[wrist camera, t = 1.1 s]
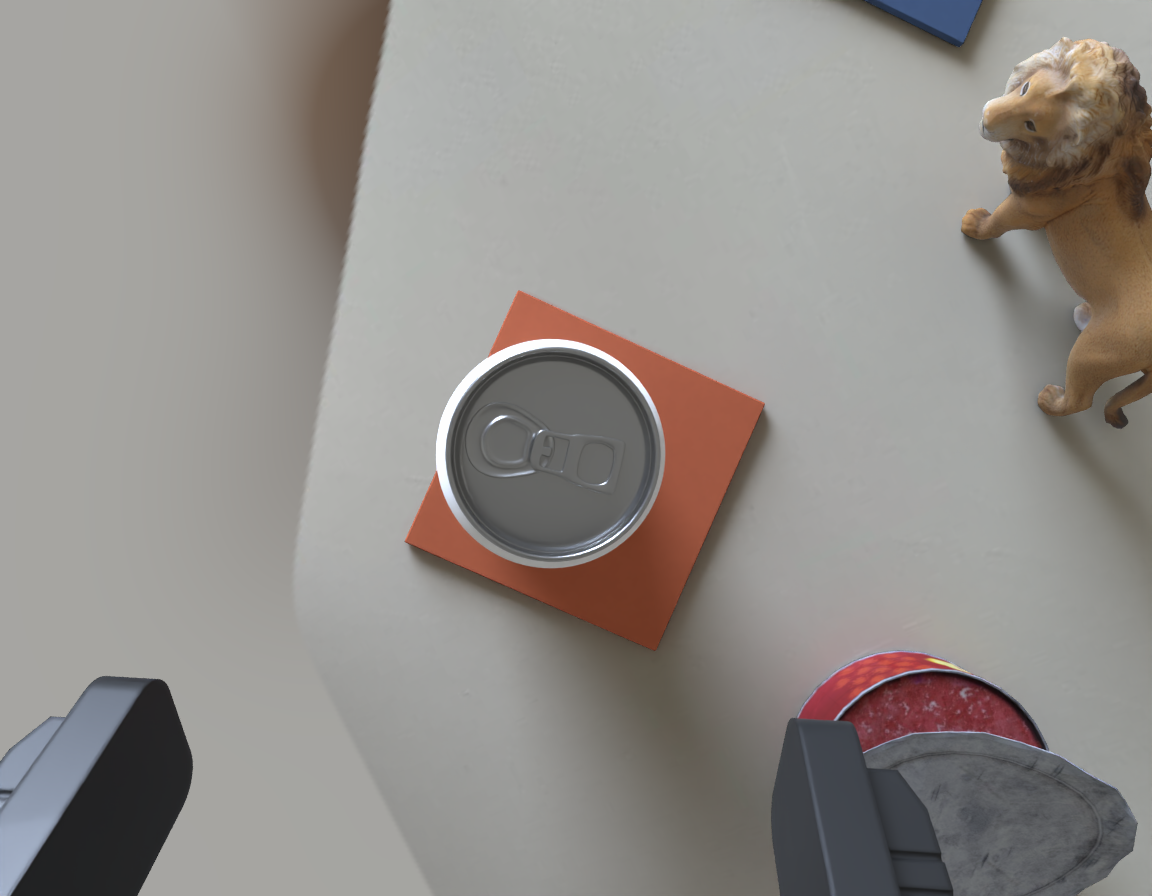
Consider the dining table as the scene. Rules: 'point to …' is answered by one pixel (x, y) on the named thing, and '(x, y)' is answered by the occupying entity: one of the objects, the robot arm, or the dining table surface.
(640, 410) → the can
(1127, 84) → the lion figurine
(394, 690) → the dining table surface
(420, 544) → the terracotta mat
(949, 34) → the blue mat
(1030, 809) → the canned food
